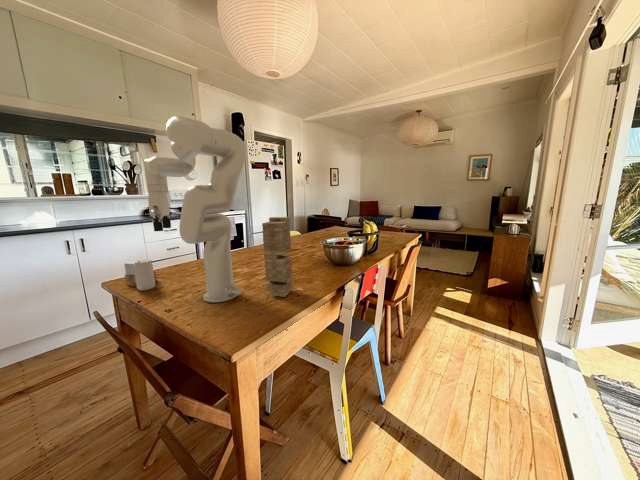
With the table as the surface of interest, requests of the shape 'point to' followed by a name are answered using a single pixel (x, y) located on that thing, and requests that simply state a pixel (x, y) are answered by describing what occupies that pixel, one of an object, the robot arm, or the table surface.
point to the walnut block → (134, 279)
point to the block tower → (277, 255)
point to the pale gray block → (130, 267)
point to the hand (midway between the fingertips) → (163, 229)
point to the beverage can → (144, 274)
